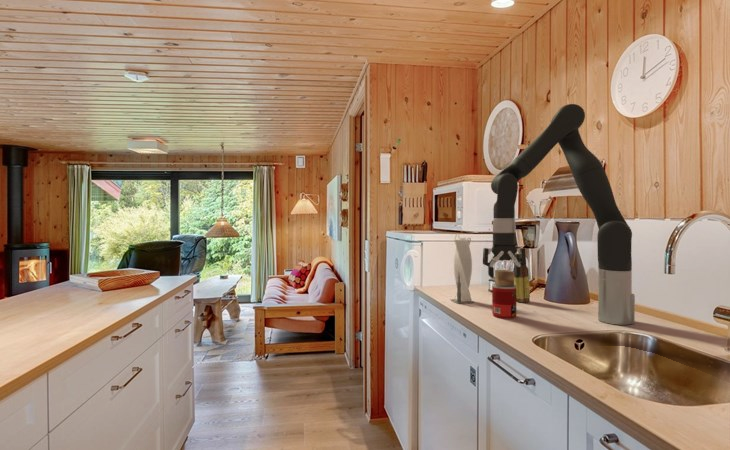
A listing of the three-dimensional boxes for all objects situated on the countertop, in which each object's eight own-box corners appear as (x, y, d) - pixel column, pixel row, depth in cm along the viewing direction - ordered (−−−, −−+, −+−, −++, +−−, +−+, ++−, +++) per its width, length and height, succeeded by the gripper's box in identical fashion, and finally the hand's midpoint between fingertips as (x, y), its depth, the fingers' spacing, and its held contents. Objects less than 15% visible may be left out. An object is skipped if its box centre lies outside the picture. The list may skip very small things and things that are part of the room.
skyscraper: (448, 299, 163) (448, 233, 162) (466, 298, 165) (465, 233, 164) (458, 303, 155) (457, 234, 154) (476, 302, 157) (476, 234, 156)
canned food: (517, 319, 130) (517, 287, 130) (492, 318, 133) (492, 286, 133) (515, 314, 138) (515, 283, 137) (492, 312, 140) (492, 282, 140)
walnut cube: (509, 283, 137) (509, 269, 137) (514, 286, 132) (514, 271, 132) (495, 283, 138) (495, 269, 138) (499, 286, 133) (499, 271, 133)
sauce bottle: (527, 299, 161) (527, 252, 161) (532, 303, 155) (532, 253, 154) (510, 299, 162) (510, 252, 161) (515, 303, 156) (515, 253, 155)
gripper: (521, 230, 138) (521, 275, 138) (480, 231, 139) (480, 275, 139) (528, 231, 130) (528, 279, 131) (486, 231, 131) (486, 279, 132)
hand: (504, 277), depth 135 cm, fingers open, 8 cm apart
